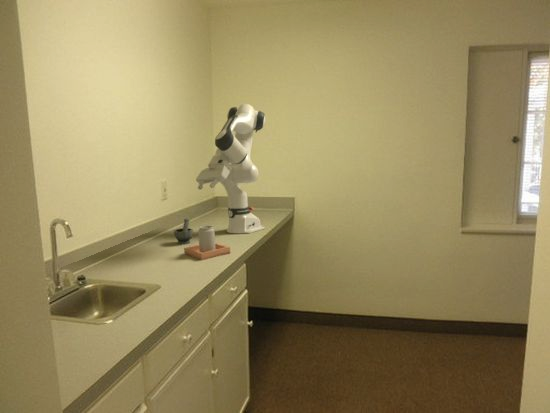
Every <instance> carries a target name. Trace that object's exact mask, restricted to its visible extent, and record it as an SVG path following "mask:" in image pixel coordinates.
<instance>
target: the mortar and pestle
mask: <svg viewBox="0 0 550 413" xmlns="http://www.w3.org/2000/svg"><path fill="white" fill-rule="evenodd" d="M189 224H190V219H189V218H185V219H184V221H183V227H182V228H177V229H175V230H173V234H174V235H173V236H174V237H175V240H176V241H177V244H178V245H188V244H191V239H192V238H193V235H194V233H193V232H194V229H193V228H189Z"/></svg>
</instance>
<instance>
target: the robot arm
mask: <svg viewBox="0 0 550 413" xmlns="http://www.w3.org/2000/svg"><path fill="white" fill-rule="evenodd" d="M226 119H227V120H226V121H225V123H224V125H223V126H222V129H220V132H218V133H217V135H216V137H214V138H215V139H214V145H215V147H216V148H217V149H216V151H215V153H214V155H213V156H212V157H211V159H210V161H209V162H208V164H207V168H204V169H202V170H201V171H200V172H199V174H198V175H197V176H196V179H195V181H196V182H197V183H198V186H197V189H198V190H203V188H204V186H203V185H204V184H209V183H210V184H209V187H210V188H211V189H212V188H213V189H214V188H215V186H216V185H217V184H218V183H220V184H221V185H222V186H223V187H224V189H225V191H226V193H227V201H228V202H227V203H228V208H227V213H228V225H227V230H226V232H227V233H229V234H251V233H252V234H253V233H255V232H258V231H261V230H264V229H265V226H264V225H261V220H260V218H259V217H258V216H256V215H255V214H253V213H252V211H254V210H255V208H254V206H249V201H248V198H249V197H248V193H247V192H246V190H243V189H242V188H241V187H240V186H239V184H250V183H255V182H256V181H257V180H258V178H259V175H260V174H259V169H258V167H257V166H256V164H254V163H253V161H252V159H251V152H252V146H253V141H254V140H253V138H254V132H255V133H257V132H258V131H261V130H262V129H264V126H265V124H266V115H265V113H264V112H263V111H261V110H255V108H254V107H253V106H252V105H251V104H249V103H243V104H241V105H239V107H235V106H233V107H230V108H229V110H228V111H227V115H226ZM233 131H234V132H235V134H234V133H233Z"/></svg>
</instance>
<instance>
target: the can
mask: <svg viewBox="0 0 550 413" xmlns="http://www.w3.org/2000/svg"><path fill="white" fill-rule="evenodd" d="M198 228H199V229H198V230H197V231H198V232H197V234H198V245H199V251H201V252H202V253H203V252H207V251H212V250H215V243H216V237H215V236H216V234H215V229H214V227H213V225H202V226H201V225H200V226H199V227H198Z"/></svg>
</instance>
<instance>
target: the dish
mask: <svg viewBox="0 0 550 413" xmlns="http://www.w3.org/2000/svg"><path fill="white" fill-rule="evenodd" d="M183 250H184V251H183V252H184V253H183V254H184V255H186V256H189V257H192V258H195V259H198V260H201V261H205V260H208V258H209V259H212V258H216V256H217V257H220V255H221V256H224V255H229V254H231V247H230V246H228V245H224V244H222V243H218V242H215V250H212V251H207V252H203V253H202V252H201V251H199V244H196V245H191V246H190V245H189V246H185V247H183Z"/></svg>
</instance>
